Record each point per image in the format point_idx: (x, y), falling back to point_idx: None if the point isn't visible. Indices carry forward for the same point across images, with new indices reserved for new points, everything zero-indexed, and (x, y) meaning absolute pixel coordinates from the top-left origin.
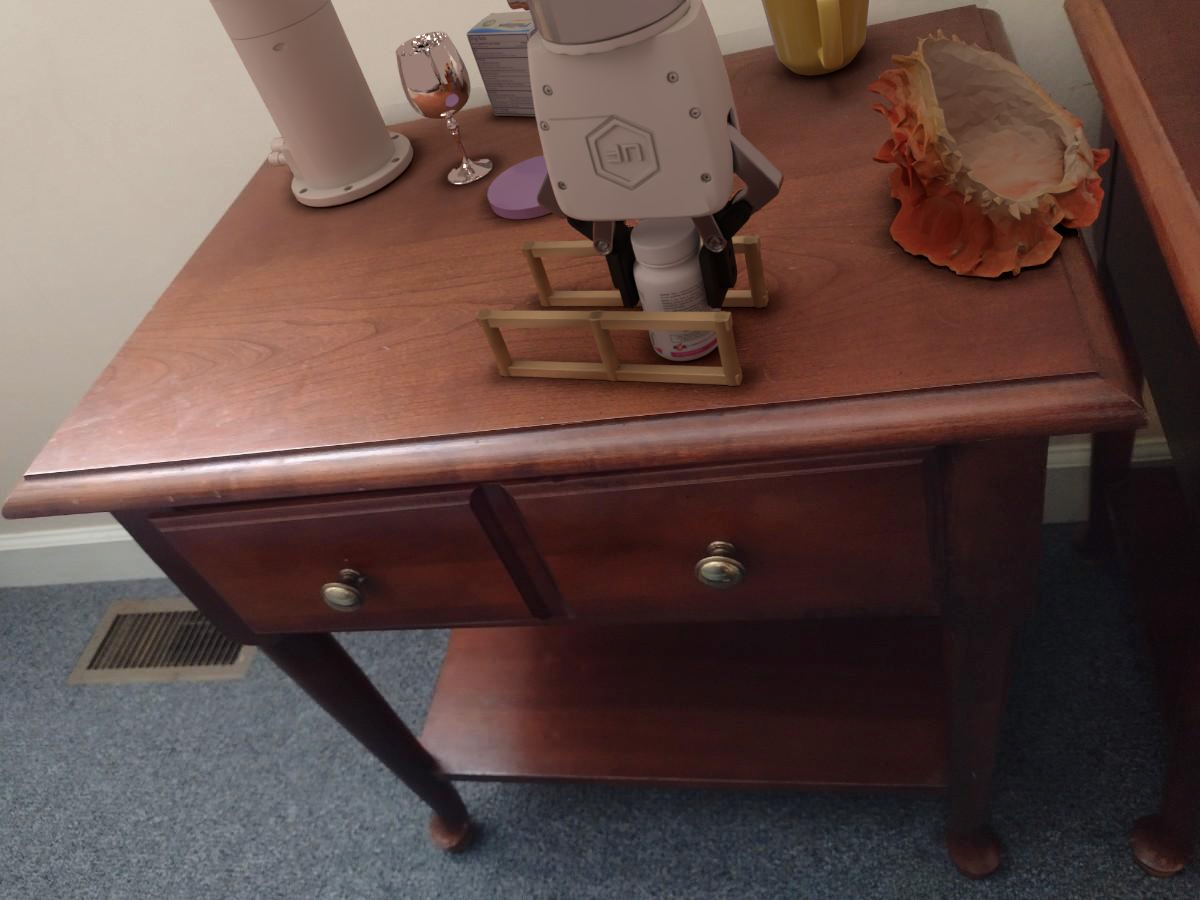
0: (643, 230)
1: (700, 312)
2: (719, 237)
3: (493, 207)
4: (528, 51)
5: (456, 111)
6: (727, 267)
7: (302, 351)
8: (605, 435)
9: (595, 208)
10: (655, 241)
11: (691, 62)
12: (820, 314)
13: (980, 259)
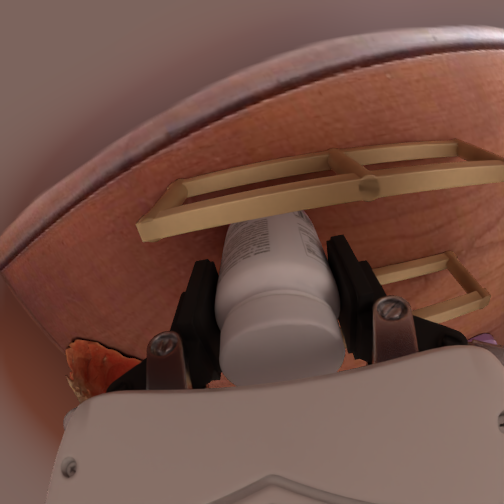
0: (320, 356)
1: (185, 231)
2: (152, 354)
3: (493, 338)
4: None
5: None
6: (175, 314)
7: None
8: (292, 59)
9: (412, 391)
10: (279, 338)
11: None
12: (157, 296)
13: (87, 352)
